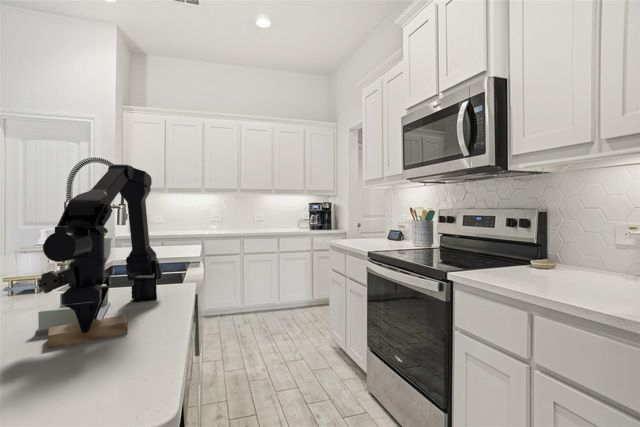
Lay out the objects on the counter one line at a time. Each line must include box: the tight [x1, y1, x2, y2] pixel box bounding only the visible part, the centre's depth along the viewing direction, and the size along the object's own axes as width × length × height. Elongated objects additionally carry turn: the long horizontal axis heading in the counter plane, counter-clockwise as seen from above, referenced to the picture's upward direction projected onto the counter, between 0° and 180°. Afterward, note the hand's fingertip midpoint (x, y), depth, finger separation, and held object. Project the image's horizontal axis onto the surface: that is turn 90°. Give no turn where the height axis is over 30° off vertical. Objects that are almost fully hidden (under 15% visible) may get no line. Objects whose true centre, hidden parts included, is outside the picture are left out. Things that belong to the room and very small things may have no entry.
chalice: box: [103, 237, 113, 293], centre depth 114 cm, size 7×7×18 cm
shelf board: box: [47, 315, 129, 349], centre depth 74 cm, size 14×6×3 cm, turn 127°
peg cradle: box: [34, 291, 111, 336], centre depth 86 cm, size 12×20×5 cm, turn 26°
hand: (89, 325), depth 74 cm, fingers open, 9 cm apart
